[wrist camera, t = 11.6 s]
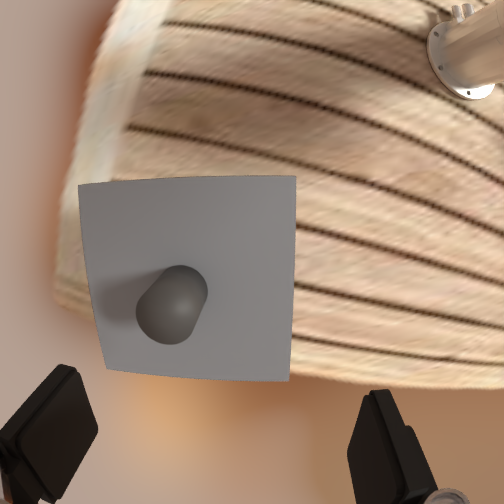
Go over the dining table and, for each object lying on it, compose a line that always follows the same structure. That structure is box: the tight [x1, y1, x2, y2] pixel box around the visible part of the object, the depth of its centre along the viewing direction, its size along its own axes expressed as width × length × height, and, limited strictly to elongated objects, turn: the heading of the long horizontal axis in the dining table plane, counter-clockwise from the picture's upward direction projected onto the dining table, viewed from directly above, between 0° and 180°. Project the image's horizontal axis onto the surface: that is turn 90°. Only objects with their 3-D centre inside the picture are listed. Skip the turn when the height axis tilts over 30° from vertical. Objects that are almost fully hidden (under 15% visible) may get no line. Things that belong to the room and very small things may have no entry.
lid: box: [78, 176, 296, 381], centre depth 23 cm, size 17×17×6 cm
